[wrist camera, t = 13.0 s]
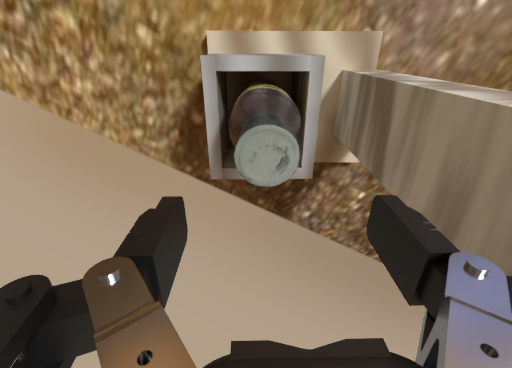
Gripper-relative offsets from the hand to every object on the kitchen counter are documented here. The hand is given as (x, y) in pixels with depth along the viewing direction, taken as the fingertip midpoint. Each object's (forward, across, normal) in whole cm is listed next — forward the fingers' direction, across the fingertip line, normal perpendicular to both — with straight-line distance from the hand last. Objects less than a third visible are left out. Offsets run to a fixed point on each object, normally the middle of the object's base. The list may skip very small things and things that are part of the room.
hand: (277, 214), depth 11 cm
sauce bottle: (+25, 0, 0) cm, 25 cm away
